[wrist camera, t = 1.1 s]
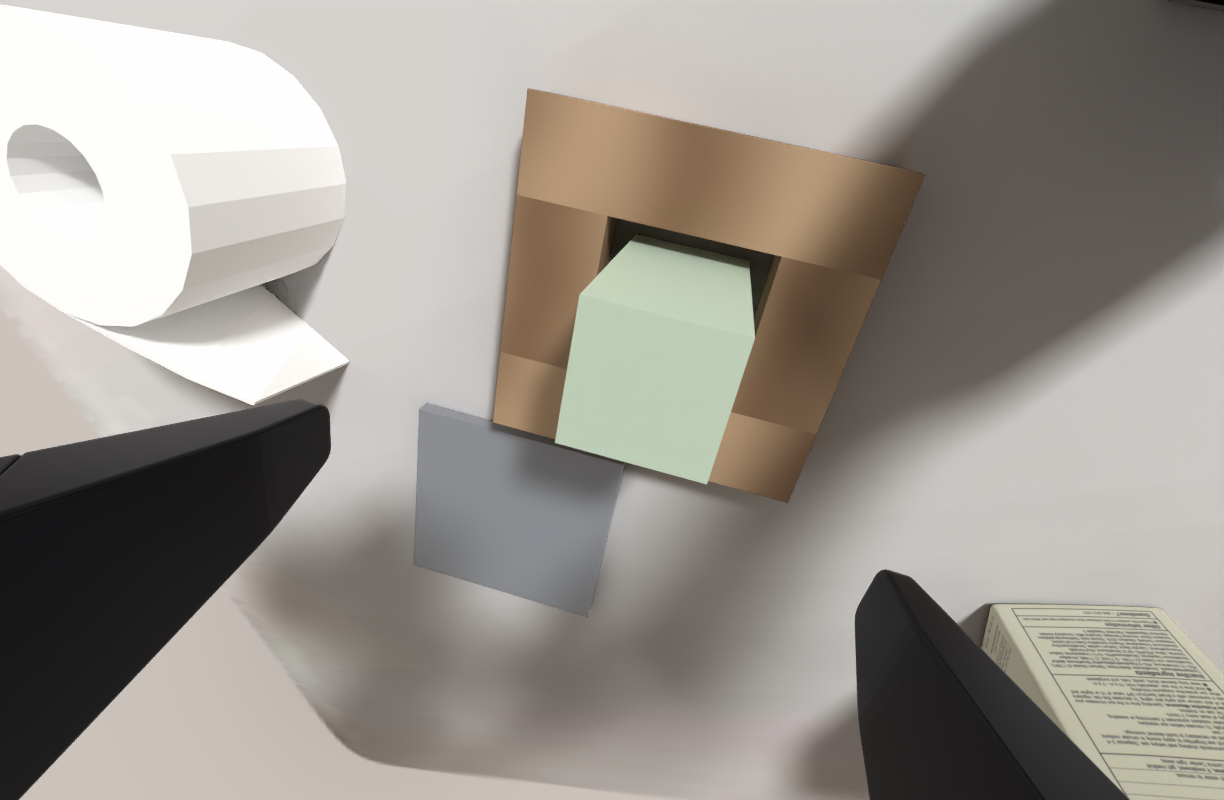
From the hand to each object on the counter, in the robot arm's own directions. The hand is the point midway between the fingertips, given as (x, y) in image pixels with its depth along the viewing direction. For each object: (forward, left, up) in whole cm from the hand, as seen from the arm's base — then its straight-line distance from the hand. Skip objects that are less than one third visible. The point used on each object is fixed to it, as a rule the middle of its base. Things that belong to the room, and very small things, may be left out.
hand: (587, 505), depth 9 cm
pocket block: (0, 0, -13) cm, 13 cm away
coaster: (+5, +12, -13) cm, 18 cm away
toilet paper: (+16, +1, -13) cm, 21 cm away
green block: (0, 0, -13) cm, 13 cm away
